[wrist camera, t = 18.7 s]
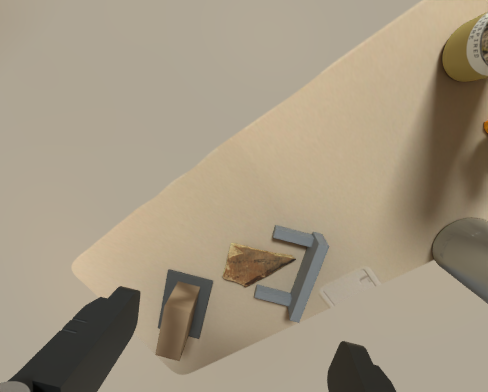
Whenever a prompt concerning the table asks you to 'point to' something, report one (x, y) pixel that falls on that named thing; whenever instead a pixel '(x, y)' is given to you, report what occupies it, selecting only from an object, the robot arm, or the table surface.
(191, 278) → the rest mat
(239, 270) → the shard
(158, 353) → the block
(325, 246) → the dock
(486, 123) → the toy figure
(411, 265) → the table surface
